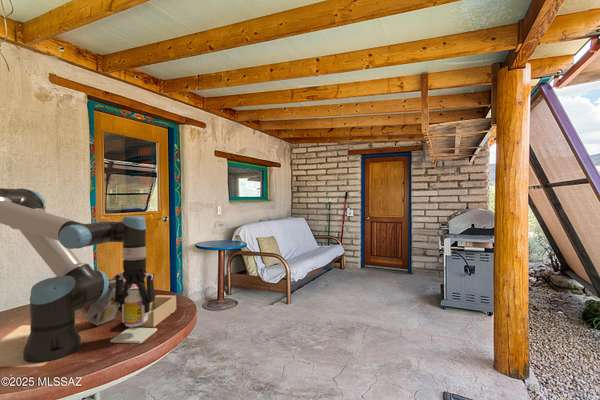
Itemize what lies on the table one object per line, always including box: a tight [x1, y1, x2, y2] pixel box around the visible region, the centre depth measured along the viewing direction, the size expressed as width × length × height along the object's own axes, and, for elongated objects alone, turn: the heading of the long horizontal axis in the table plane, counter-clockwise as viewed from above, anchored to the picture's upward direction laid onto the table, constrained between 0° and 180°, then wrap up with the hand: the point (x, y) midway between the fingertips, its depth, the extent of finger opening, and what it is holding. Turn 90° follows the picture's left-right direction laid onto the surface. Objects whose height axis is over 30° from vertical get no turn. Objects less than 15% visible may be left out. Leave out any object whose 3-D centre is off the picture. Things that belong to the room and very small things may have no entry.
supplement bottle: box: [124, 287, 144, 328], centre depth 117 cm, size 7×7×13 cm
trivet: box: [110, 327, 158, 344], centre depth 117 cm, size 11×11×1 cm
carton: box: [136, 294, 177, 328], centre depth 135 cm, size 11×23×6 cm, turn 176°
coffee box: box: [85, 278, 125, 326], centre depth 129 cm, size 9×6×16 cm
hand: (135, 321), depth 117 cm, fingers closed on supplement bottle, 7 cm apart
